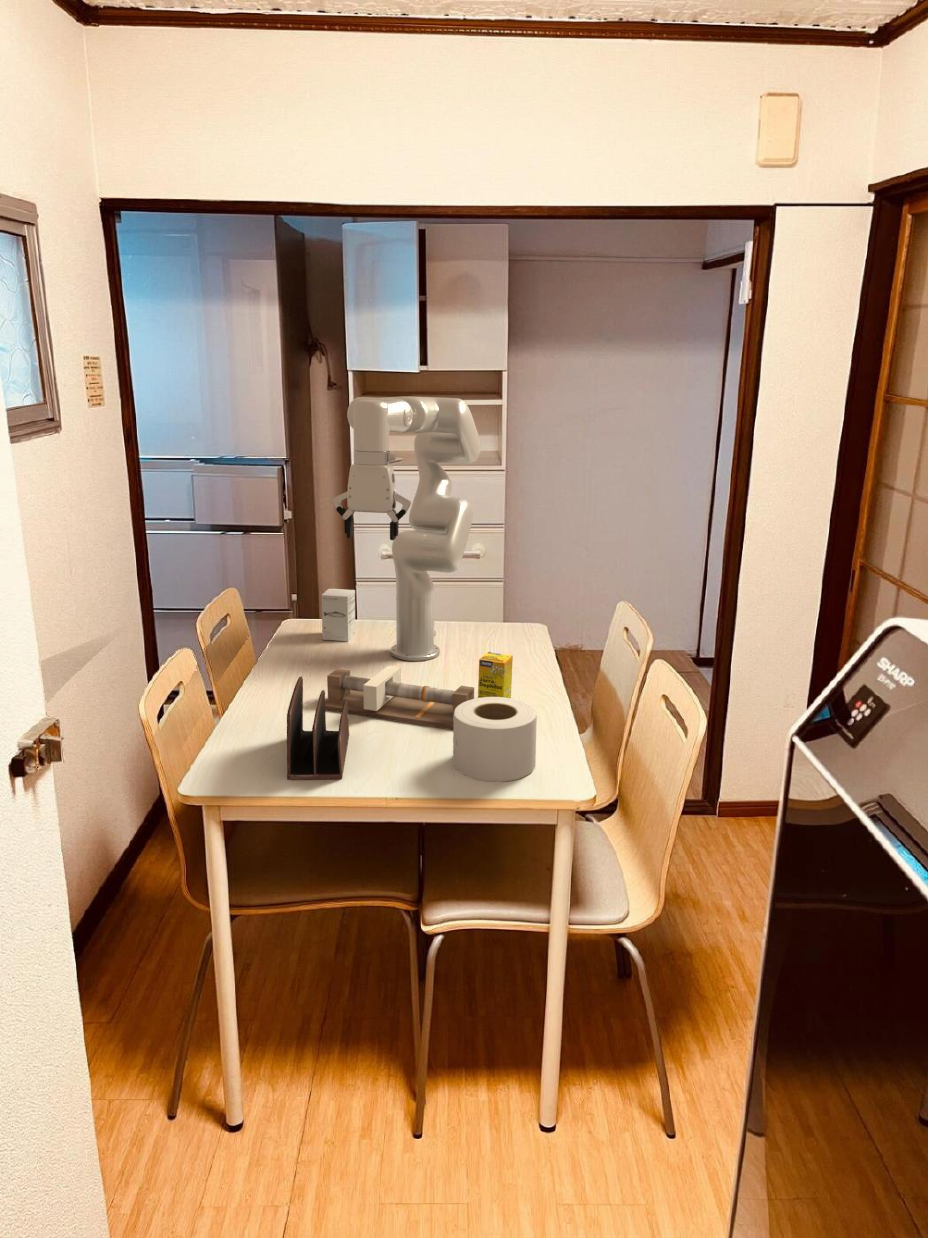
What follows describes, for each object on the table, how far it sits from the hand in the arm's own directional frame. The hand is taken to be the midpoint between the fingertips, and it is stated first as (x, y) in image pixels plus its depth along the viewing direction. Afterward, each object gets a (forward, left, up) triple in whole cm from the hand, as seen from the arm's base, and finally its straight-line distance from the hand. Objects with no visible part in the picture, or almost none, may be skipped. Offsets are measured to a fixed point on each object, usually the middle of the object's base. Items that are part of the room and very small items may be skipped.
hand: (371, 538), depth 201 cm
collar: (+10, +7, -33) cm, 35 cm away
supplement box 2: (-1, +29, -35) cm, 45 cm away
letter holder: (+37, +6, -35) cm, 52 cm away
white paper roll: (+28, +38, -35) cm, 59 cm away
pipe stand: (+10, +11, -35) cm, 38 cm away
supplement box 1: (-31, -24, -35) cm, 53 cm away
